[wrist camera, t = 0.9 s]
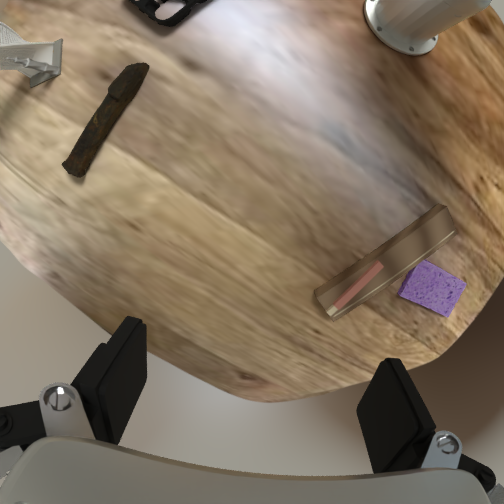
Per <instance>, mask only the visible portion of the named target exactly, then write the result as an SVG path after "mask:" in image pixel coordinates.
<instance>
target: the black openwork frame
mask: <svg viewBox="0 0 504 504" xmlns="http://www.w3.org/2000/svg"><path fill="white" fill-rule="evenodd" d="M129 1H131V2H132V3H133V4H135V5H136V6H137V7H138V8H139V10H140V11H142V12H143V13H146V14H147V15H148V17H149V18H151V19H152V20H154V21H156V22H157V23H158V24H160V25H164V26H169V27H172V26H175V25H176V24H178V23H179V22H180V21H181V20H183V19H184V18H185V17H186V16H187V15H189V13H190V12H191V8H192V7H193V6H194V5H196V4H197V3H203V2H206V1H207V0H183V1H184V2H186V3H187V4H186V5H185V6H184V7H183V8H182V9H181V10H179V11H178V12H177V13H175V14H174V15H173V16H172V17H170V18H168V19H165V20H160V19H157V18H156V16H155V11H156V10H157V9H158V8H159V7H160V5H159V4H158V3H157V2H156V1H155V0H138V1H135V0H129ZM161 1H162V2H163V3H165V2H167V1H168V0H161Z"/></svg>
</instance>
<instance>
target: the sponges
mask: <svg viewBox="0 0 504 504" xmlns="http://www.w3.org/2000/svg"><path fill="white" fill-rule="evenodd" d="M466 285H467V284H466V283H465V282H463V281H462V280H460V279H458V278H456V277H455V276H453V275H451V274H449V273H448V272H446V271H444V270H443V269H441V268H439V267H437V266H435V265H434V264H432V263H430V262H428V261H427V260H423V261H422V262H421V263H419V264H418V265H417V266H415V267H414V268H413V269H411V270H410V271H409V272H408V274H407V276H406V279H405V280H404V282H403V283H402V285H401V287H400V289H399V291H398V292H397V293H398V294H399V295H400V296H401V297H403V298H406V299H408V300H411V301H413V302H415V303H418V304H421V305H422V306H424V307H427V308H430V309H431V310H433V311H435V312H437V313H439V314H441V315H444V316H446V317H449V315H450V314H451V312H452V310H453V308H454V307H455V303H457V301H458V299H459V296H460V295H461V293H462V292H463V290H464V288H465V286H466Z"/></svg>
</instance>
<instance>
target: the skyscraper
mask: <svg viewBox="0 0 504 504" xmlns="http://www.w3.org/2000/svg"><path fill="white" fill-rule="evenodd" d="M62 42H63V39H59V40H57V41H55V42H32V43H31V42H27V41H25V40H23V39H22V38H21V37H20V36H19V35H18V34H17V33H16V32H15V31H14V30H13V29H11V28H10V27H9V26H7V25H6V24H4V23H2V22H1V21H0V70H18V71H19V72H21V73H23V74H24V75H26V76H28V77H29V78H30V87H31V88H32V87H34V86H36V85H38V84H40V83H42V82H44V81H47V80H49V79H51V78H53V77H55V76H58V75H60V74H61V58H62Z"/></svg>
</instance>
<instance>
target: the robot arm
mask: <svg viewBox="0 0 504 504" xmlns="http://www.w3.org/2000/svg"><path fill="white" fill-rule="evenodd" d="M491 1H492V0H365V3H364V14H365V18H366V20H367V23H368V25H369V26H370V28H371V29H372V31H373V32H374V34H375V35H376V36H377V37H378V38H379V39H380V40H381V41H382V42H384V43H385V44H386V45H387V46H389V47H391V48H392V49H394V50H396V51H398V52H400V53H403V54H407V55H414V56H416V55H422V54H425V53H427V52H429V51H431V50H432V49H433V48H434V47H435V45H436V43H437V40H438V34H440V33H441V32H443V31H445V30H447V29H449V28H450V27H452V26H454V25H456V24H458V23H460V22H461V21H463V20H465V19H467V18H469V17H471V16H473V15H475V14H477V13H478V12H480V11H482V10H484V9H485V8H487V7H488V5H489V4H490V3H491ZM146 329H147V328H146V324H143V323H142V320H141V319H139V318H135V317H131V316H127V317H126V318H125V319H124V321H123V322H122V323H121V325H120V326H119V327H118V329H117V330H116V331H115V333H114V334H113V336H112V337H111V338H110V340H109V341H108V342H107V344H105V343H101V344H100V345H99V346H98V347H97V348H96V350H95V351H94V352H93V354H92V355H91V357H90V358H89V359H88V361H87V362H86V363H85V365H84V366H83V368H82V369H81V370H80V372H79V373H78V374H77V376H76V377H75V379H74V380H73V382H72V383H71V384H70V385H69V384H66V383H53V384H49V385H48V386H46V387H45V388H44V389H43V390H42V391H41V393H40V395H39V400H38V401H33V402H28V403H22V404H17V405H11V406H6V407H0V479H1V478H2V477H4V476H6V475H7V477H6V479H5V480H4V482H3V484H2V486H1V487H0V504H504V488H503V486H502V485H500V484H497V485H495V484H496V477H495V474H494V473H493V471H492V470H491V469H490V468H489V467H487V466H485V465H483V464H481V463H479V462H477V461H475V460H473V459H471V458H469V457H467V456H466V455H464V454H461V451H462V444H461V442H460V440H459V438H457V436H456V435H454V434H452V433H451V432H448V431H440V432H437V433H435V431H434V430H435V428H436V425H435V423H434V421H433V419H432V417H431V415H430V413H429V411H428V409H427V407H426V406H425V404H424V402H423V400H422V398H421V396H420V394H419V392H418V391H417V389H416V387H415V385H414V383H413V381H412V380H411V378H410V376H409V374H408V372H407V370H406V369H405V367H404V365H403V363H402V361H401V360H400V359H398V358H386V359H385V360H384V361H382V362H381V363H380V364H379V366H378V368H377V370H376V372H375V374H374V376H373V378H372V380H371V382H370V384H369V386H368V388H367V389H366V391H365V393H364V395H363V397H362V399H361V401H360V402H359V404H358V406H357V416H358V419H359V423H360V426H361V429H362V433H363V436H364V440H365V443H366V447H367V451H368V455H369V458H370V462H371V466H372V469H373V473H374V474H364V475H346V476H291V475H290V476H288V475H273V474H261V473H250V472H241V471H234V470H226V469H219V468H213V467H207V466H202V465H196V464H191V463H186V462H182V461H177V460H172V459H168V458H164V457H160V456H155V455H152V454H147V453H144V452H140V451H137V450H133V449H129V448H125V447H122V446H118V444H119V442H120V439H121V437H122V434H123V432H124V430H125V427H126V426H127V423H128V421H129V419H130V417H131V414H132V412H133V409H134V408H135V405H136V403H137V401H138V399H139V396H140V394H141V392H142V390H143V388H144V385H145V383H146V379H147V344H146ZM9 470H10V472H9V473H8V474H7V473H6V472H8V471H9Z"/></svg>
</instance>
